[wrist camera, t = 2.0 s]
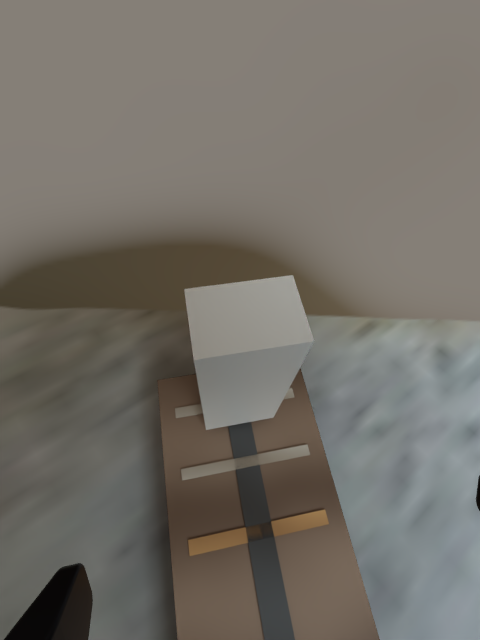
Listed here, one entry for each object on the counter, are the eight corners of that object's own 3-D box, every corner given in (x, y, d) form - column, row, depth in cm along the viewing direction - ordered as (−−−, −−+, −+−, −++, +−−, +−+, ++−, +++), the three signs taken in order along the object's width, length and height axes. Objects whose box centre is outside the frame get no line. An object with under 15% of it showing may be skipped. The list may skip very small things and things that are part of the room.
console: (377, 694, 15) (405, 725, 13) (194, 750, 14) (189, 796, 12) (289, 373, 22) (297, 356, 20) (163, 394, 21) (157, 379, 19)
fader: (273, 417, 18) (314, 341, 10) (206, 430, 17) (193, 360, 10) (263, 374, 19) (292, 275, 11) (199, 384, 18) (184, 288, 11)
